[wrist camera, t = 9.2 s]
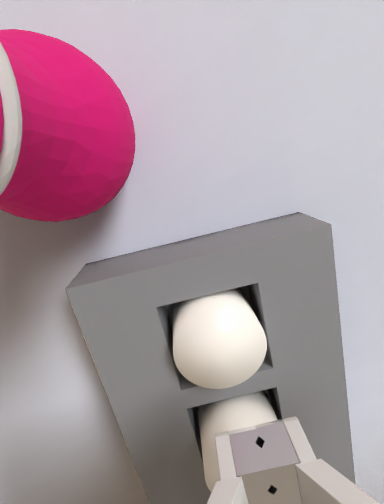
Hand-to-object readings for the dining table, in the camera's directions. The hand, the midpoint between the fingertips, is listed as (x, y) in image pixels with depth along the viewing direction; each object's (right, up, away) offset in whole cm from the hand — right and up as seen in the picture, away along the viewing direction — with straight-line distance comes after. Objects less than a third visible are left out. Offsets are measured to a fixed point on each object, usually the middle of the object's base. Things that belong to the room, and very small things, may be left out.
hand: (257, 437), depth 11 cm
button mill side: (-1, +3, +9) cm, 10 cm away
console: (0, -4, +12) cm, 12 cm away
